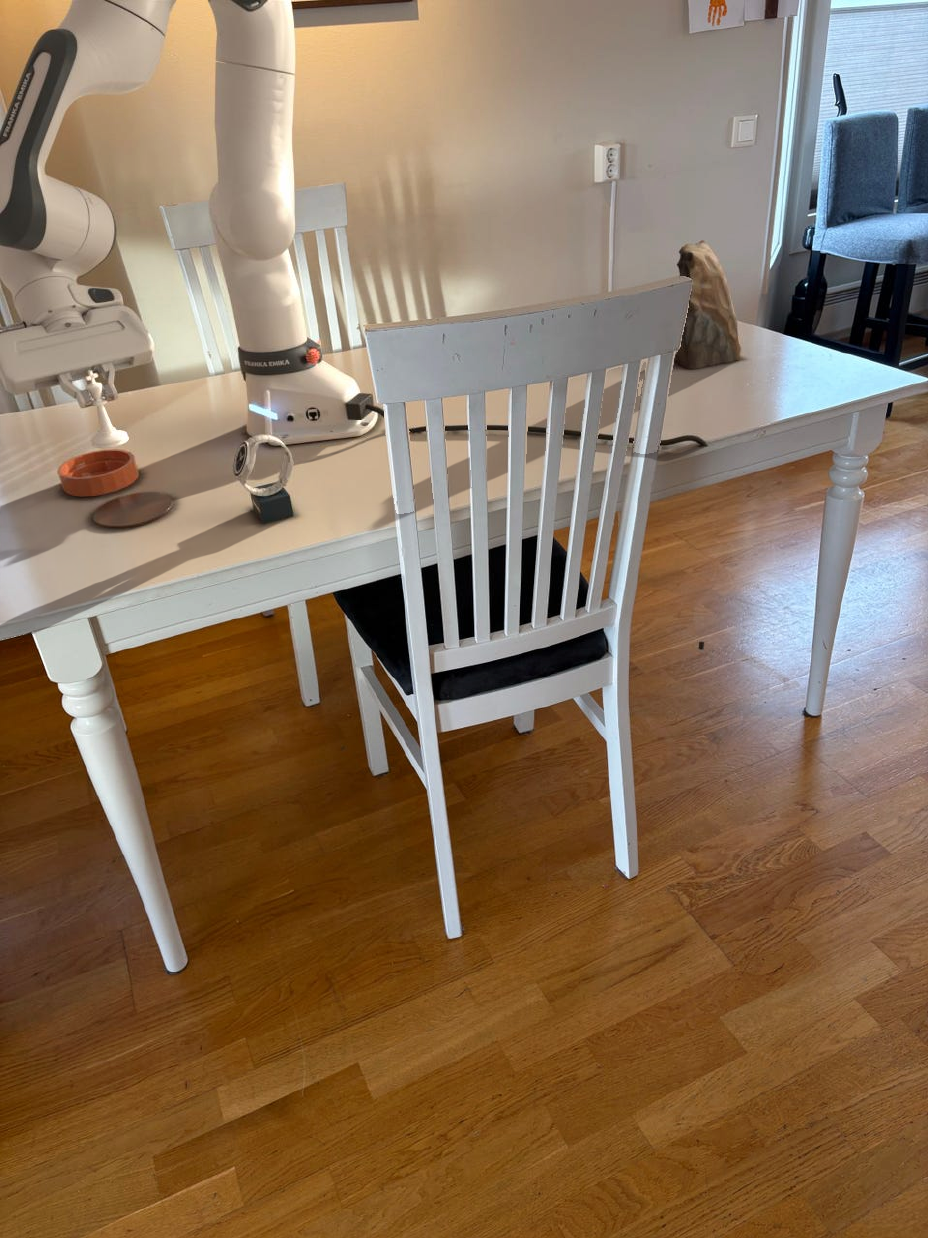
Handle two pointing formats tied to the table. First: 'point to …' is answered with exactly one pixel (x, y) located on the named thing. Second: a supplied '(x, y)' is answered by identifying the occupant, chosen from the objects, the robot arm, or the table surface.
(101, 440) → the chess piece
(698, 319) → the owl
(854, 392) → the table surface
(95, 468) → the dish
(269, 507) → the watch
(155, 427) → the table surface
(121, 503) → the coaster
